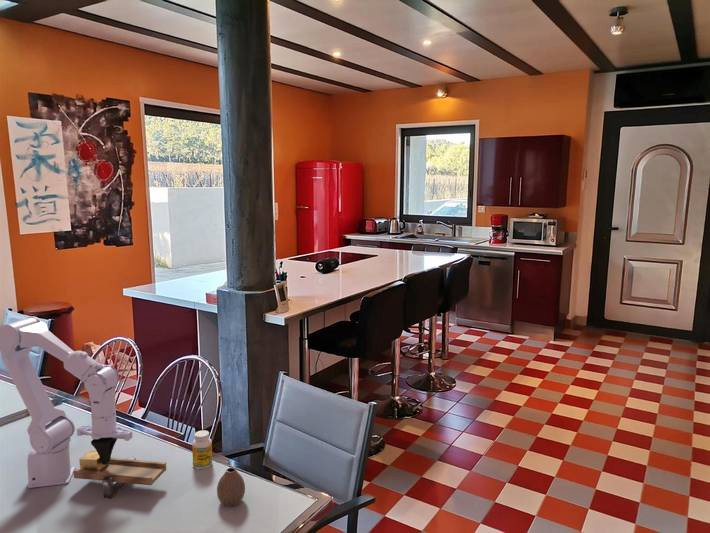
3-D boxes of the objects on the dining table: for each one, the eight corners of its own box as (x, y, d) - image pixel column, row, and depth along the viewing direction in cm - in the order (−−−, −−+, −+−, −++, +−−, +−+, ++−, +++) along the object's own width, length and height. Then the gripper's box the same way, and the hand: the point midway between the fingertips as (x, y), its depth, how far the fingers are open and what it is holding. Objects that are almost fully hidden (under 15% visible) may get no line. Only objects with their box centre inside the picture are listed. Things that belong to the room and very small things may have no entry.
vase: (250, 497, 132) (250, 465, 131) (235, 513, 126) (235, 479, 124) (227, 491, 134) (226, 460, 133) (211, 506, 128) (211, 473, 127)
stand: (102, 499, 129) (101, 480, 129) (130, 473, 142) (129, 456, 141) (109, 500, 129) (108, 481, 128) (137, 473, 141) (136, 456, 141)
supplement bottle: (208, 458, 151) (208, 427, 149) (214, 466, 146) (214, 434, 145) (190, 463, 148) (189, 431, 146) (195, 471, 143) (195, 439, 142)
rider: (80, 471, 134) (79, 459, 133) (92, 462, 138) (90, 450, 138) (98, 472, 133) (96, 459, 133) (109, 463, 138) (107, 451, 137)
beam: (73, 477, 133) (73, 470, 132) (93, 462, 140) (92, 456, 140) (151, 485, 129) (150, 478, 129) (166, 469, 137) (166, 462, 137)
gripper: (67, 417, 130) (70, 467, 132) (120, 423, 128) (122, 473, 130) (86, 406, 137) (88, 454, 139) (136, 411, 135) (138, 459, 137)
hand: (106, 462), depth 135 cm, fingers closed
